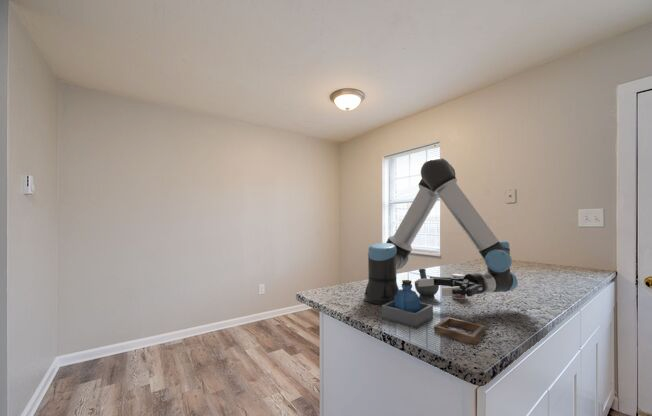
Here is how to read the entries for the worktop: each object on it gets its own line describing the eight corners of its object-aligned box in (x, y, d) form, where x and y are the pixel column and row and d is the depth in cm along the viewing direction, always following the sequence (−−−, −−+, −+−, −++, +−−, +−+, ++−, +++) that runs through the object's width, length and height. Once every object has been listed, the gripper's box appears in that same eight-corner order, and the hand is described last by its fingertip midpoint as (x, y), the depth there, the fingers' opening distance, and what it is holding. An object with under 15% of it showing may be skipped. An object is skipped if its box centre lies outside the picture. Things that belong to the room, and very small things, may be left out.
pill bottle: (448, 296, 122) (447, 274, 122) (457, 295, 124) (457, 273, 124) (459, 300, 117) (458, 276, 117) (468, 298, 119) (468, 275, 119)
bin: (381, 318, 95) (381, 305, 95) (399, 310, 104) (399, 298, 104) (416, 329, 86) (416, 314, 86) (433, 318, 95) (432, 305, 95)
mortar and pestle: (442, 301, 114) (442, 272, 115) (420, 301, 114) (420, 272, 115) (431, 294, 126) (431, 267, 126) (411, 294, 125) (410, 267, 126)
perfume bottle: (404, 320, 91) (403, 283, 92) (394, 314, 97) (394, 279, 97) (420, 318, 93) (419, 282, 93) (409, 312, 99) (409, 278, 99)
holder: (434, 333, 83) (434, 326, 83) (447, 323, 91) (447, 316, 91) (474, 344, 75) (474, 337, 75) (485, 332, 83) (485, 325, 83)
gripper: (508, 303, 91) (455, 308, 86) (454, 285, 115) (410, 289, 110) (508, 280, 92) (455, 284, 86) (454, 267, 116) (409, 270, 110)
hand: (429, 287), depth 98 cm, fingers open, 13 cm apart
